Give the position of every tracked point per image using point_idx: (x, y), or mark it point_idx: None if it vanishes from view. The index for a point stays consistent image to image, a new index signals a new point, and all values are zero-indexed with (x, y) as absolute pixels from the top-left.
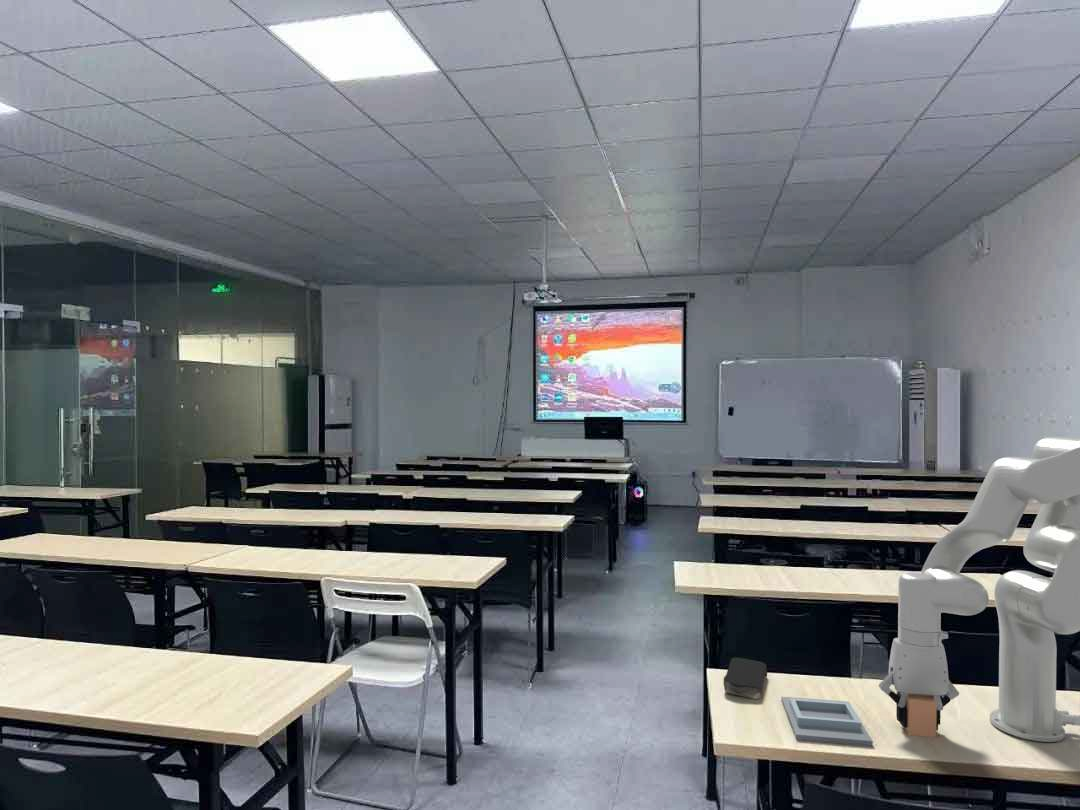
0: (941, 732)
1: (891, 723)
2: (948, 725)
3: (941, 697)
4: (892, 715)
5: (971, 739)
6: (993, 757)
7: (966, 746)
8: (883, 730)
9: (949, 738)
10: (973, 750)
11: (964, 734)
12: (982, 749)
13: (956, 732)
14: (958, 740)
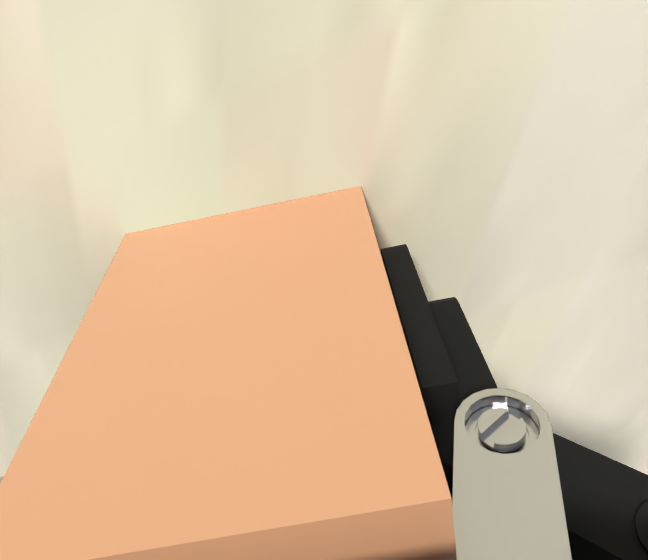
0: (453, 276)
1: (48, 266)
2: (580, 97)
3: (618, 550)
4: (11, 57)
5: (644, 307)
6: (643, 466)
7: (550, 409)
8: (22, 400)
9: (480, 348)
10: (569, 437)
11: (637, 243)
12: (635, 410)
13: (585, 230)
14: (534, 354)
